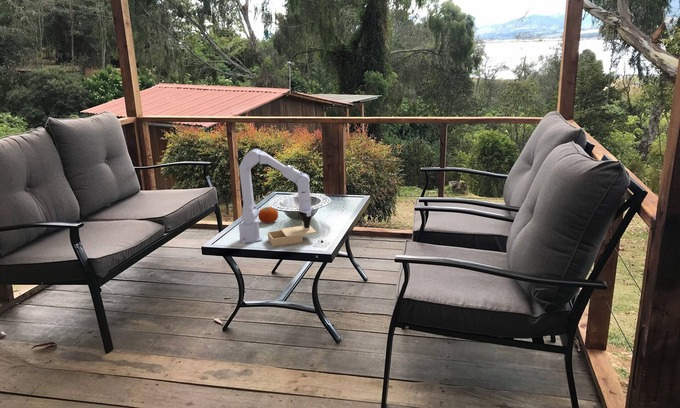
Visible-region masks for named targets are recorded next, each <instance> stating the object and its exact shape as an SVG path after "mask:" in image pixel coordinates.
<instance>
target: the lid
mask: <svg viewBox="0 0 680 408" xmlns="http://www.w3.org/2000/svg"><path fill="white" fill-rule="evenodd" d="M301 223H302V225H299V226H297V225H296V226H293V227H291V226H289V227H284V228H280V230H281V231H282V232H283V234H284V235H285V236H286V237H292V236H299V235H302V236H304V235H312V234H317V231H316V230H315V229H314V228H313V227H312V226H311V225H310V226H309V228H305V227H304V223H303V221H302V220H301Z"/></svg>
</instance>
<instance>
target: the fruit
mask: <svg viewBox="0 0 680 408" xmlns="http://www.w3.org/2000/svg"><path fill="white" fill-rule="evenodd" d="M272 207H273V206H267V207H266V206H265V207H263V208H261V209H260V210H258V212H259V213H258V216H257V218H258V219H259V220H258V221H260V222H262V223H264V224H270V223H273V222H275V221H277V220H278V218H279V211H278V209H276V208H275V209H276V210H275V209H273V208H274V207H273V208H272Z"/></svg>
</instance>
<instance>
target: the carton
mask: <svg viewBox="0 0 680 408" xmlns="http://www.w3.org/2000/svg"><path fill="white" fill-rule="evenodd" d="M267 240H268V241H269V244H270V245H271V246H273V247H274V248H280V247H286V246H293V245H298V244H299V245H300V244H303V235H299V236H292V237H286V236H285V235H284V234H283V232H282V231H281V229H279V230H272V231H267ZM273 247H272V248H273Z"/></svg>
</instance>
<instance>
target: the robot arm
mask: <svg viewBox="0 0 680 408" xmlns="http://www.w3.org/2000/svg"><path fill="white" fill-rule="evenodd" d="M258 163H259V165H268V166H270V167H272V168H274V169H276V170H278V171H280V172H281V174H282V176H283V177H285V179H287V180H289V181H291V182H293V183H294V184H296V186H297V197H298V201H297V202H298V215H299V217H300V220H301V222H302V221H303V223H304V227H305V228H309V226H311V220H312V217H313V213H312V210H314V207H313V206H312V204H311V203H312V202H311V188H310V176H309V174H307V173H306V172H305V173H304V172H303V171H300V170H298V169H296V168H295V166H294V165H284V163H282V162H280V161H279V160H277V159H276V158H274V157H273V156H271V155H270V154H268V153H267V152H265V151H264V150H261V149H260V148H253V149H251V150H250V151H249V152H247V153H246V154H245V155H243V159H242V160H241V163H240V164H239V165H238V166H239V167H238V168H239V169H238V170H239V177H240V186H241V195H242V201H243V202H242V204H243V205H242V214H241V217H240V218H241V221H242V222H241V223H239V224H238V229H239V232H238V233H239V239H240V241H241V244H246V243H256V242H260V241H262V237H261V235H260V225H259V224H260V223H259V220H258V219H259V218H258V214H259V210H258V208H257V206H256V205H257V204H256V202H255V199H254V189H253V182H252V173H251V172H252V171H251V169H252V168H253V167H254V166H256V165H257V164H258Z"/></svg>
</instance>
